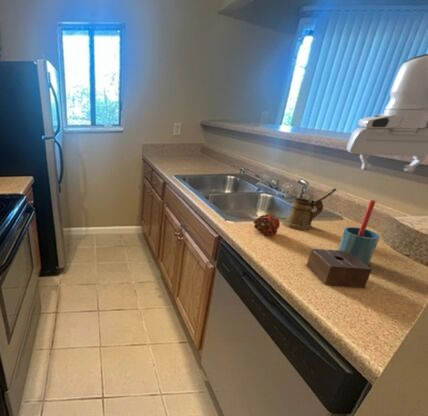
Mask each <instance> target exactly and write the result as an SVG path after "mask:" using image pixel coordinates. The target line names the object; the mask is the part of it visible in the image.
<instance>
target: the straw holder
mask: <svg viewBox="0 0 428 416" xmlns="http://www.w3.org/2000/svg"><path fill="white" fill-rule="evenodd" d="M306 266H307V267H308V268H309V269H310V270H311V272H312V273H313V274H315V276H316V277H317V278H318V279H319V280H320V281H321V282H322V283H323V284H324V285H328V286H341V287H353V288H365V287H366V285H367V283H368V281H369V277H370V276H371V273H372V270H373V269H372V268H371V267H369V265H368V266H367V265H366V264H364V263H363V262H362V261H360V260H359V259H358V258H356V257H355V256H354V255H352V254H351V253H350V252H348V251H340V250H338V249H322V248H321V249H320V248H311V249H310V253H309V255H308V260H307V262H306Z"/></svg>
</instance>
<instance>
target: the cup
mask: <svg viewBox="0 0 428 416" xmlns="http://www.w3.org/2000/svg"><path fill="white" fill-rule="evenodd" d="M360 228H361V227H357V226H348V227H345V228H344V230H343V232H342V236H341V239H340V241H339V245H338V248H337V250H340V251H348V252H350V253H351V254H352V255H354V256H355V257H356V258H358V259H359V260H360V261H362V262H363V263H364V264H366V265H367V266H368V267H369V265H370V263H371V260H372V258H373V255H374V252H375V250H376V248H377V245H378V243H379V240H380V235H379V234H378V233H377V232H375V231H372V230H369V229H367V228H366V229H365V232H364V234H363V237H361V236H358V233H359V230H360Z"/></svg>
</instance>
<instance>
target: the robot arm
mask: <svg viewBox="0 0 428 416" xmlns="http://www.w3.org/2000/svg"><path fill="white" fill-rule="evenodd" d="M389 96H390V97H389V100H388V103H387V104H386V106H385V107H384V110H383V112H382V113H380V114H375V115H372V116H367V117H363V118H360V119H359V120H358V124H357V125H358V126H359V127H357V128H355V129H354V130H353V131H352V133H351V135H350V137H349V139H348V142H347V145H346V151H347V152H348V153H349V154H353V155H354V154H355V155H359V159H360V161H361V163H362V164H361V167H360V168H361V170H362V171H363V170H364V171H366V170H367V171H369V170H370V169H371V167H372V163H370V162H368V160H367V159H369V158H370V155H378V156H380V155H381V156H403V157H412V159H413V161H411V163H409V164H405V165H404V167H403V169H402V170H403V172H405V173H414V172H415V170H416V167H417V166H419V165H420V164H421V163H423V162H424V161H425V159H426V157H428V53H423V54H421V55H416V56H413V57H411V58H409V59H407V60H406V61H404V62H403V63H402V65H401V66H400V67H399V69H398V71H397V73H396V75H395V78H394V79H393V83H392V85H391V89H390V91H389Z"/></svg>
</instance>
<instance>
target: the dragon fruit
mask: <svg viewBox="0 0 428 416" xmlns="http://www.w3.org/2000/svg"><path fill="white" fill-rule="evenodd" d="M253 224H254V225H253V226H254V229H256V230H257V231H258V232H260V233H261V234H262V235H264V236H268V235H276V234H277V233H278V230H279V228H280V220H279V218H276V216H275V215H274V214H272V213H268V214H262V215H260V216H259V217H257V218H256V219H254V220H253Z"/></svg>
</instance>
